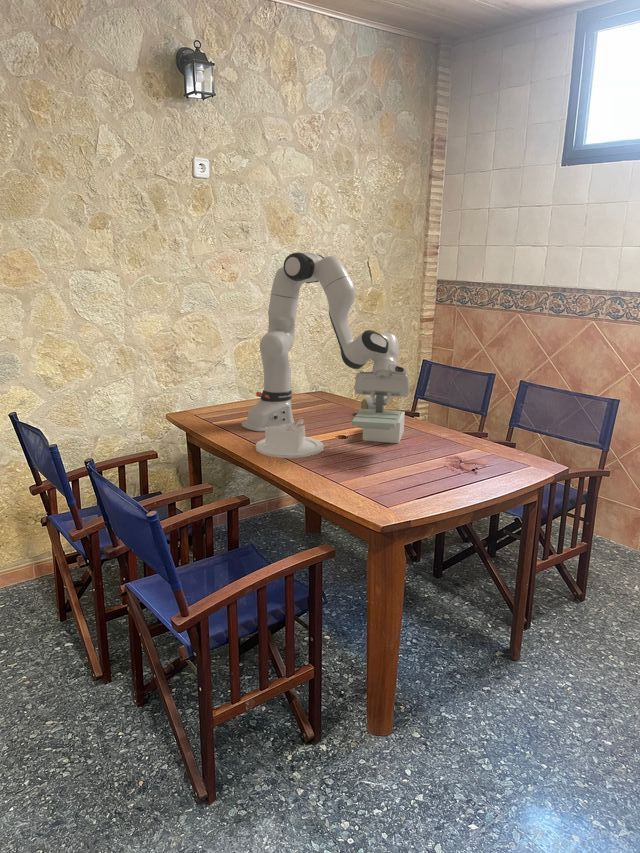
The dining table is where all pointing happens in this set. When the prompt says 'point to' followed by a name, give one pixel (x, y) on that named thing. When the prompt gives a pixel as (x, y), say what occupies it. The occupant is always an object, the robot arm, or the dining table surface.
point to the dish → (288, 442)
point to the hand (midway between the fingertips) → (379, 404)
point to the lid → (376, 416)
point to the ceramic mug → (367, 404)
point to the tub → (386, 432)
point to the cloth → (458, 459)
